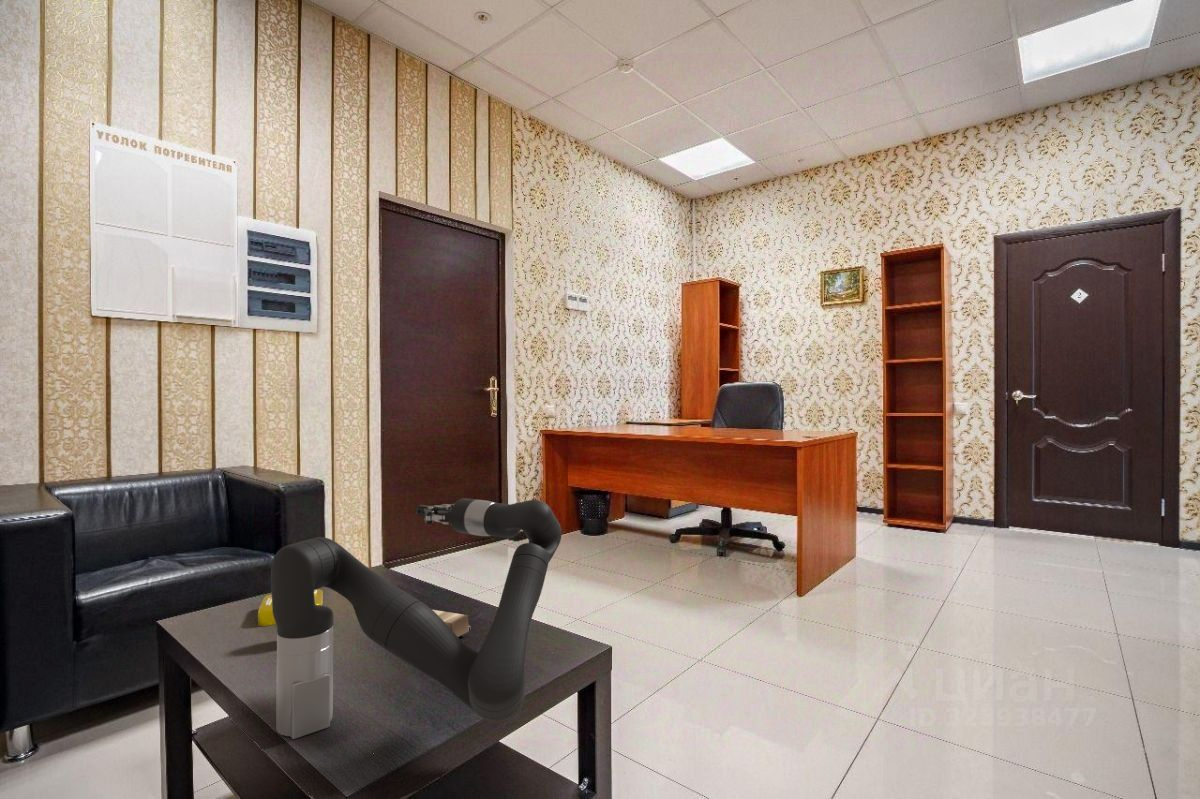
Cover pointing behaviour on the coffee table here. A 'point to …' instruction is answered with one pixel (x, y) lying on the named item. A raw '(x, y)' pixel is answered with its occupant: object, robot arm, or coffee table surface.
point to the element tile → (267, 613)
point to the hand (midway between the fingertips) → (419, 509)
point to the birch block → (455, 622)
